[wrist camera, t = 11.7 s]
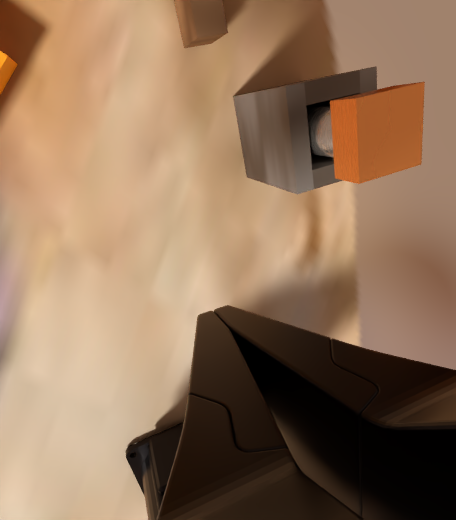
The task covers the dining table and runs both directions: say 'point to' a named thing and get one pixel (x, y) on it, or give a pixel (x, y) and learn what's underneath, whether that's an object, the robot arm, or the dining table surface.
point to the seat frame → (276, 110)
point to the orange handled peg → (370, 132)
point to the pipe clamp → (5, 69)
